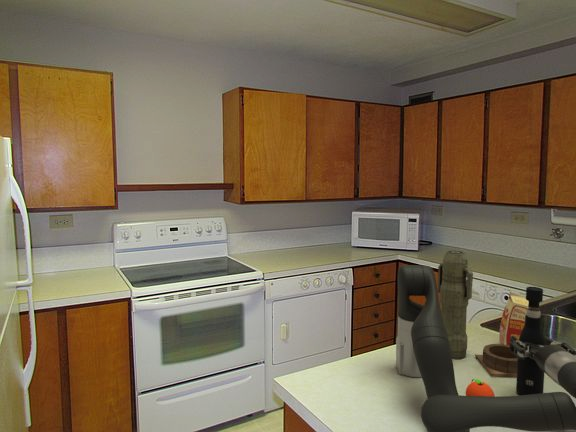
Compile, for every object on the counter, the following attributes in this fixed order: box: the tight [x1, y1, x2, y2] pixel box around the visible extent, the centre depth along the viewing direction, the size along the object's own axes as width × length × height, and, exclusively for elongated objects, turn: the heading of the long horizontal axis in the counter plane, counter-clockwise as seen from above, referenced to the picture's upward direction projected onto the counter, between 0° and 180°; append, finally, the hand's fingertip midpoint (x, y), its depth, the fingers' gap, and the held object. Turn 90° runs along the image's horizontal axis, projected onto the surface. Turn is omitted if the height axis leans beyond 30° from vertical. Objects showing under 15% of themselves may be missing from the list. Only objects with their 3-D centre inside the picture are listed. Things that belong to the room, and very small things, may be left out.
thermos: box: [437, 250, 474, 360], centre depth 137 cm, size 9×12×35 cm
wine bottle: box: [515, 286, 545, 396], centre depth 111 cm, size 6×6×30 cm
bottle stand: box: [474, 343, 518, 379], centre depth 129 cm, size 13×13×5 cm
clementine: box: [464, 378, 496, 397], centre depth 107 cm, size 8×7×7 cm
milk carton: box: [498, 291, 529, 346], centre depth 142 cm, size 9×9×20 cm
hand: (528, 339), depth 113 cm, fingers open, 8 cm apart
